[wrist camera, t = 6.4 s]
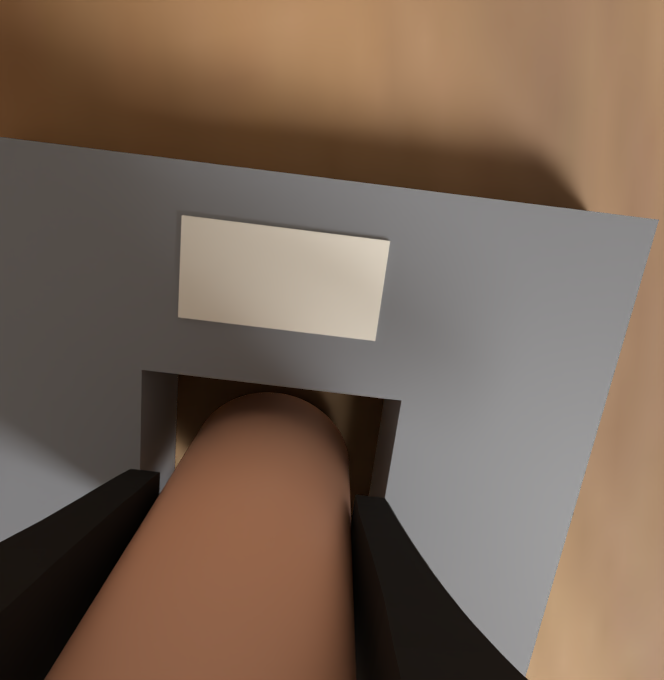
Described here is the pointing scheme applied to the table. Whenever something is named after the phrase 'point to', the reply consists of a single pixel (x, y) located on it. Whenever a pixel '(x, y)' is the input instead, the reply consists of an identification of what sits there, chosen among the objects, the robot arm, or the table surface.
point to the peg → (234, 560)
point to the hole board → (317, 342)
